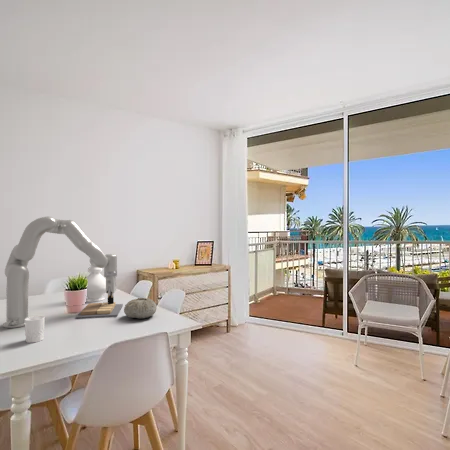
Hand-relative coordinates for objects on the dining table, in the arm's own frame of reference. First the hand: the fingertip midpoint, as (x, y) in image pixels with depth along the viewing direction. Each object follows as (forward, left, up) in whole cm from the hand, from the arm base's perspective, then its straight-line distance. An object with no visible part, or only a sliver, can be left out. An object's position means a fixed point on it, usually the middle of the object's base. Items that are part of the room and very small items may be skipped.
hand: (110, 303), depth 198 cm
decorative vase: (+28, +15, -3) cm, 32 cm away
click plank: (-6, +1, -2) cm, 6 cm away
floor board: (-6, +5, -3) cm, 8 cm away
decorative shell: (-22, -19, -3) cm, 29 cm away
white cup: (-51, +25, -3) cm, 57 cm away
